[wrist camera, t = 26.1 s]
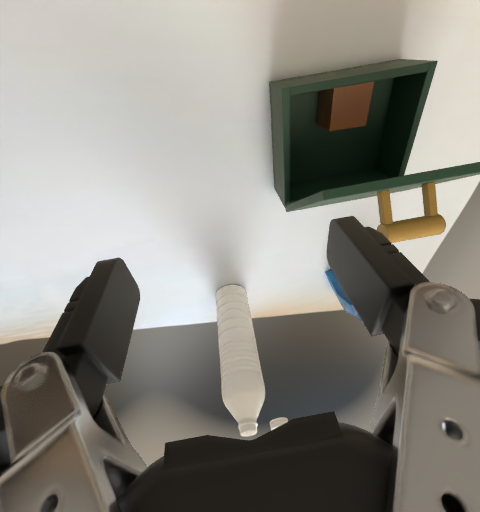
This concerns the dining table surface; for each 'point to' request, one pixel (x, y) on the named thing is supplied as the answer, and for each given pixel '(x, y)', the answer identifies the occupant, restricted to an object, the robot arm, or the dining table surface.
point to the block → (344, 106)
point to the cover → (382, 189)
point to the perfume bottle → (341, 294)
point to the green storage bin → (346, 140)
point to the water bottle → (240, 360)
